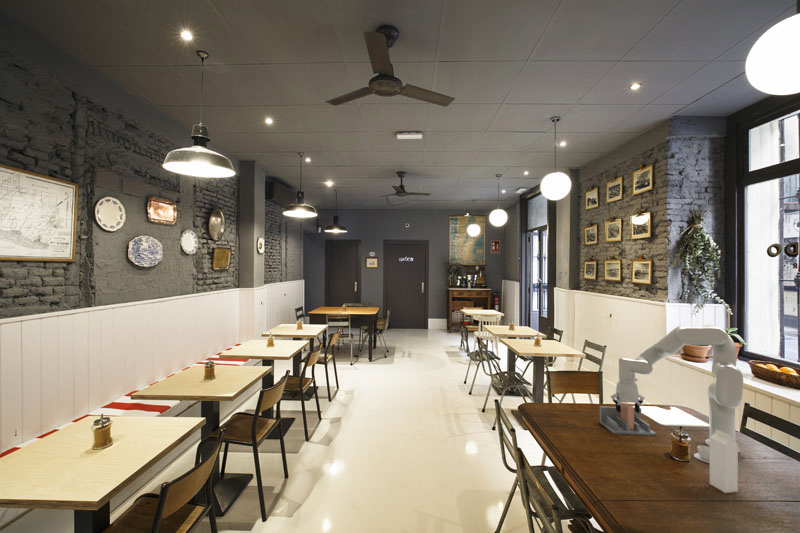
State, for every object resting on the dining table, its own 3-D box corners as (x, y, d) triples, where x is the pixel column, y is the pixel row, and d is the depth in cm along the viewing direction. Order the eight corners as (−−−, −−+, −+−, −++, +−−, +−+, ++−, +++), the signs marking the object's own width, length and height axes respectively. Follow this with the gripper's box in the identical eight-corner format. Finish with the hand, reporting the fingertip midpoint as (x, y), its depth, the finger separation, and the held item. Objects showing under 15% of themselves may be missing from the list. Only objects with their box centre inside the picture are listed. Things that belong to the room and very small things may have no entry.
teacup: (727, 466, 157) (727, 456, 157) (702, 463, 159) (702, 453, 159) (712, 455, 166) (712, 445, 166) (688, 452, 168) (688, 443, 168)
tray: (631, 407, 227) (631, 405, 227) (675, 408, 226) (675, 406, 226) (661, 426, 199) (661, 423, 199) (712, 427, 198) (712, 425, 198)
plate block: (633, 429, 190) (633, 407, 190) (628, 429, 190) (628, 407, 190) (625, 423, 198) (625, 402, 198) (620, 423, 198) (620, 401, 198)
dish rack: (656, 435, 186) (656, 417, 186) (612, 433, 188) (612, 416, 188) (639, 424, 200) (639, 407, 200) (599, 422, 202) (599, 406, 202)
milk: (721, 483, 144) (721, 428, 144) (738, 492, 138) (738, 435, 138) (709, 484, 143) (709, 429, 143) (725, 493, 137) (725, 435, 137)
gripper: (639, 378, 197) (640, 409, 197) (607, 378, 199) (607, 409, 198) (647, 382, 190) (648, 415, 189) (614, 382, 191) (615, 414, 191)
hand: (627, 411), depth 194 cm, fingers open, 9 cm apart
